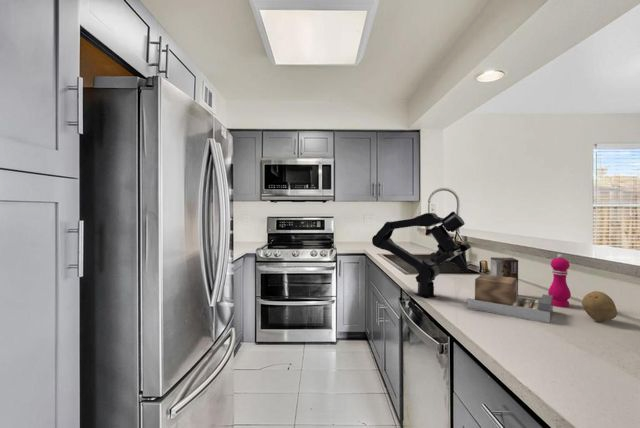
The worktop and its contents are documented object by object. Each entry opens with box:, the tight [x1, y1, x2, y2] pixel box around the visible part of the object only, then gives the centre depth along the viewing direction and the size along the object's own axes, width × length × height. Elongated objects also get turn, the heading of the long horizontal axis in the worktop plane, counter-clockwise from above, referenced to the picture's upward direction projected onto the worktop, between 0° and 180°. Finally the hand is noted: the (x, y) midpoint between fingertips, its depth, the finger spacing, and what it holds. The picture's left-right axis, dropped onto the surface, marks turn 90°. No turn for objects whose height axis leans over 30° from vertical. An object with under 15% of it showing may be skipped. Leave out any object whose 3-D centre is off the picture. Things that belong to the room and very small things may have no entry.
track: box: [467, 294, 554, 324], centre depth 125 cm, size 26×16×6 cm, turn 52°
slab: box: [474, 273, 516, 305], centre depth 127 cm, size 12×12×8 cm
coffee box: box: [490, 256, 519, 297], centre depth 145 cm, size 9×6×16 cm
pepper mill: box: [547, 253, 572, 308], centre depth 131 cm, size 7×7×20 cm
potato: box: [581, 290, 618, 323], centre depth 113 cm, size 9×9×10 cm
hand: (466, 271), depth 134 cm, fingers closed
